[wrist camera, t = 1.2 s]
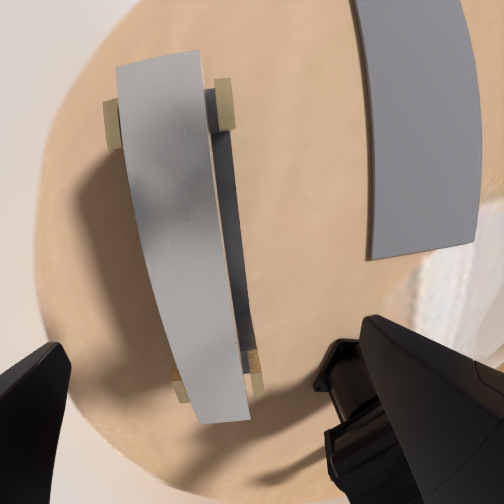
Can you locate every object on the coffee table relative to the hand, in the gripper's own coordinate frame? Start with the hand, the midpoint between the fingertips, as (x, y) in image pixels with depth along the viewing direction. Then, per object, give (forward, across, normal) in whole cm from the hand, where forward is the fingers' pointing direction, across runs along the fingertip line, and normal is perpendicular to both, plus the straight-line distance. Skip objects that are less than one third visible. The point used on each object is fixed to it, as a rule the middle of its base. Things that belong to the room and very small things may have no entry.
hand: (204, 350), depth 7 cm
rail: (+7, +1, 0) cm, 7 cm away
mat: (+12, -17, -8) cm, 22 cm away
